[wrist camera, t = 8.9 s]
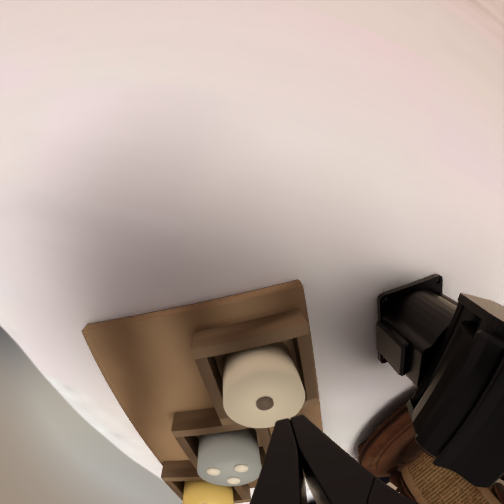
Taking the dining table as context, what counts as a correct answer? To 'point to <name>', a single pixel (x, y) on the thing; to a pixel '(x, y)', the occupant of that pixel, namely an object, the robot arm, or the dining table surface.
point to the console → (198, 370)
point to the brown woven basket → (418, 467)
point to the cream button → (261, 386)
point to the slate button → (229, 457)
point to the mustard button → (206, 493)
